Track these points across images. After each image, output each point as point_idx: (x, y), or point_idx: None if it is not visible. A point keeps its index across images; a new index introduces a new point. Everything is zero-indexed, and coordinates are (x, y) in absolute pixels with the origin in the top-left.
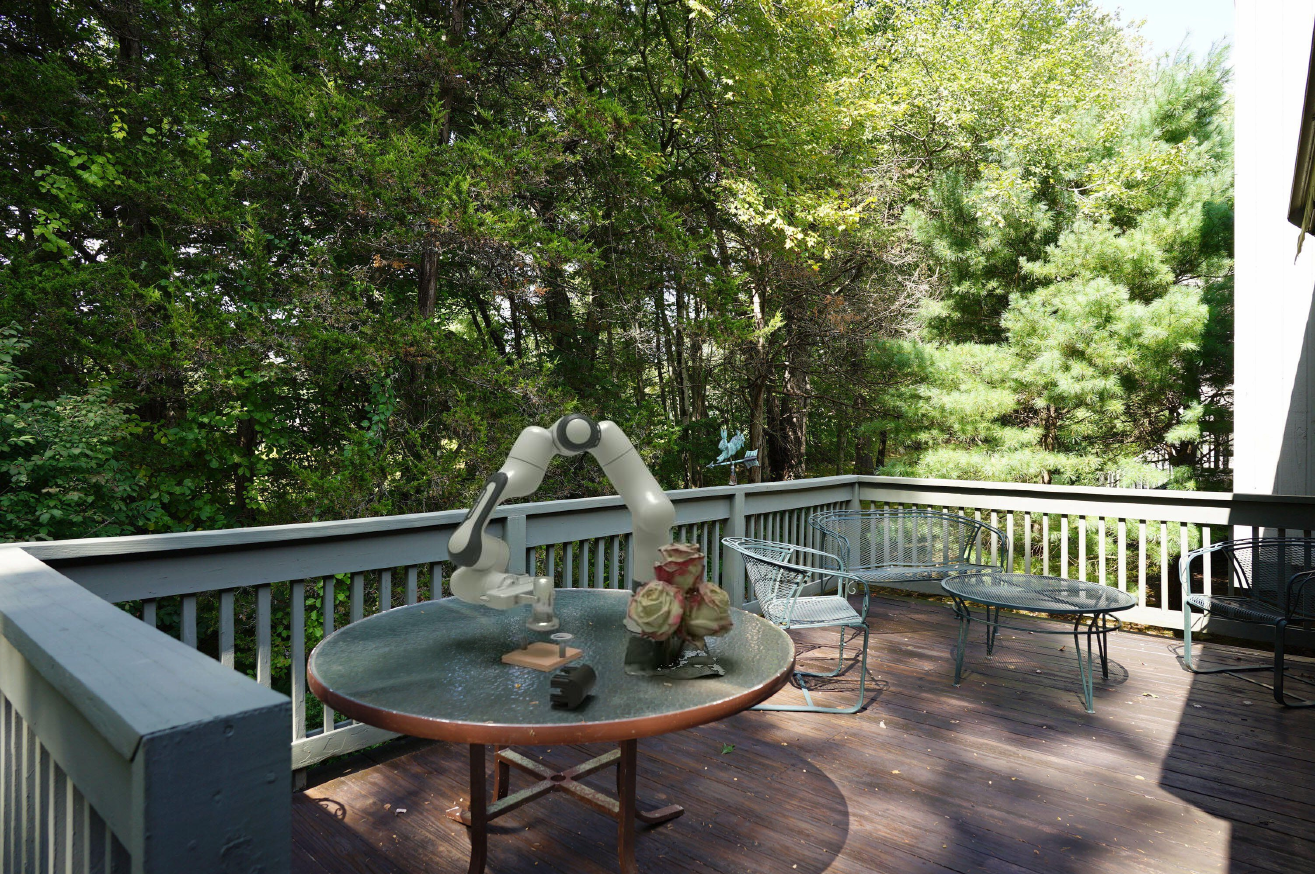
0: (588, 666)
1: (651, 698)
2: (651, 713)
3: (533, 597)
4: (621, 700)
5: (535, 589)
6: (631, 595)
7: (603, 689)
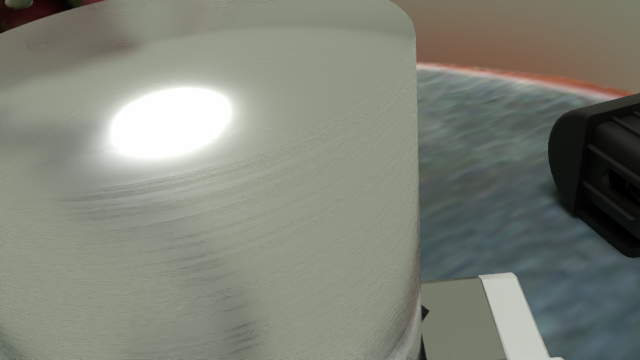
0: (584, 107)
1: (439, 116)
2: (517, 86)
3: (526, 302)
4: (512, 142)
5: (417, 248)
6: (17, 4)
7: (485, 202)
